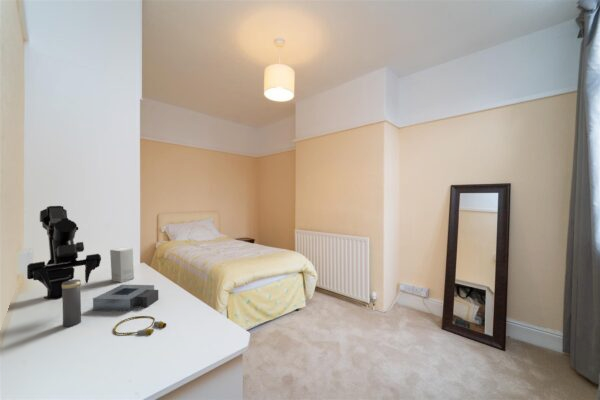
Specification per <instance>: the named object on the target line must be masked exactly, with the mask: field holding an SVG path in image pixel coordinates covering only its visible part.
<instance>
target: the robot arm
mask: <svg viewBox="0 0 600 400" xmlns="http://www.w3.org/2000/svg"><path fill="white" fill-rule="evenodd" d="M39 222H40V223H41V225H42V226H41V227H42V228H43V229H45V230H46V234H47V236H48V247H49V258H50V259H49V260H48V261H47V263H46V262H45V261H39V262H38V261H37V262H30V263H29V264H28V265H27V267H26V276H27V280H33V281H38V282H40V283H42V285H43V286H44V287H45V288H46V289H47V290H46V291H47V293H46V294H47V295H45V296H43V297H42V299H48V300H49V299H54V300H55V299H56V300H57V299H60V298H61V299H62V283H63V282H66V281H69V280H74V278H75V268H76V267H81V266H84V267H85V269H84V279H85V284H88V282H89V278H90V275H91V273H92V271H94V270H95V269H96V268H99V267H100V265H101V262H102V256H101V254H99V253H92V254H86V256H85V259H80V260H79V259H78V258H79V254H78V253H82V252H84V251H85V244H84V241H79V242H76V243H74V239H75V236H76V232H77V231H79V227H78V226H77V225H78V224H77V223H76V222H75V221H73V220H71V219H69V218H68V212H67V209H65V208H64V205H63V206H62V205H49V206H47V207H46V208H44V209H43V210H40V212H39ZM77 259H78V260H77Z"/></svg>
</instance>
